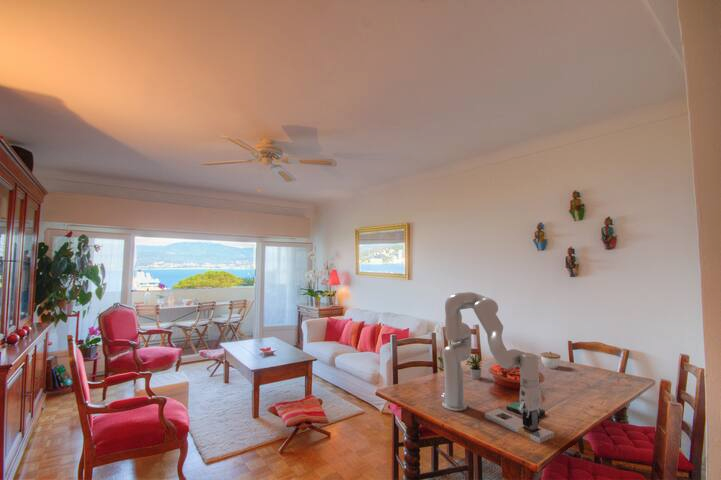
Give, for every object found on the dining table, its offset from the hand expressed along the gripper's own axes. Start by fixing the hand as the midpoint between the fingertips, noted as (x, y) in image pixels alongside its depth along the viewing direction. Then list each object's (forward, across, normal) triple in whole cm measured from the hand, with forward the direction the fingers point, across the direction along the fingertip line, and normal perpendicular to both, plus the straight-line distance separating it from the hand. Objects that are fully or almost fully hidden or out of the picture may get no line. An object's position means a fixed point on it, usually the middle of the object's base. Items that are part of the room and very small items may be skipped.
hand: (531, 423), depth 151 cm
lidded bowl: (+4, +104, +53) cm, 117 cm away
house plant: (+4, +38, +65) cm, 75 cm away
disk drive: (+5, +18, +15) cm, 23 cm away
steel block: (+4, 0, 0) cm, 4 cm away
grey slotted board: (+4, 0, +7) cm, 8 cm away
